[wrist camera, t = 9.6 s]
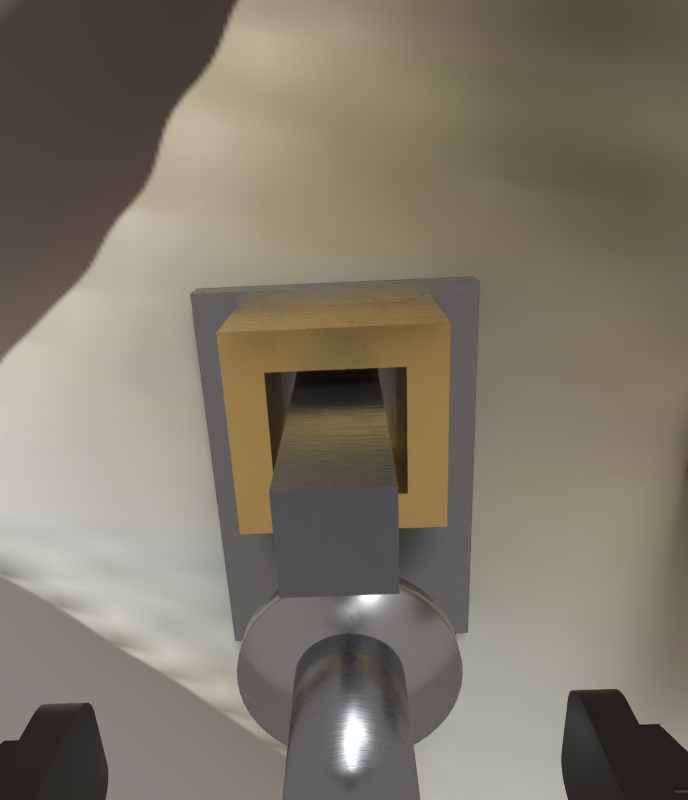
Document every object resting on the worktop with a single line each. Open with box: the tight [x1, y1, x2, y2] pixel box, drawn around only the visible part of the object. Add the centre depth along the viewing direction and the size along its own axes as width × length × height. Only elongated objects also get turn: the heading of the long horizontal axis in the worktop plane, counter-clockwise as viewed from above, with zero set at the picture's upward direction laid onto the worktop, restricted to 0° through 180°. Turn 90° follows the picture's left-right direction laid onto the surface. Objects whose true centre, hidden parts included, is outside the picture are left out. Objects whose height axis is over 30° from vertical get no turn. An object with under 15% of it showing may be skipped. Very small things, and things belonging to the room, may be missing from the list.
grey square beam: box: [269, 368, 400, 598], centre depth 21 cm, size 3×3×12 cm
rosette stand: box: [191, 277, 479, 800], centre depth 24 cm, size 19×12×13 cm, turn 2°
